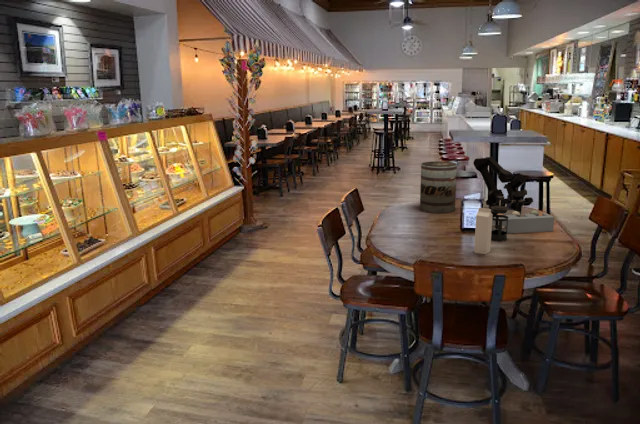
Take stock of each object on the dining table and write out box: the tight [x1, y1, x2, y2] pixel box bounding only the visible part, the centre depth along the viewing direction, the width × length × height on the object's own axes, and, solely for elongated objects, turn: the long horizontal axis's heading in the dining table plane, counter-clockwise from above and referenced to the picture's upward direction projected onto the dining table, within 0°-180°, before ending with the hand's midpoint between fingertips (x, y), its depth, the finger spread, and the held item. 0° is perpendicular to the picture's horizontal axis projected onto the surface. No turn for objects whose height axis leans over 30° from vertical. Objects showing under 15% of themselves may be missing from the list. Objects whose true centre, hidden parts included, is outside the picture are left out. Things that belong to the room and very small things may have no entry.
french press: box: [491, 195, 509, 242], centre depth 271 cm, size 12×9×23 cm
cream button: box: [511, 210, 521, 217], centre depth 292 cm, size 5×4×4 cm
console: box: [492, 212, 555, 235], centre depth 287 cm, size 9×32×8 cm, turn 96°
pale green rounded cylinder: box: [529, 209, 540, 216], centre depth 293 cm, size 5×4×4 cm
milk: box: [473, 207, 493, 255], centre depth 250 cm, size 6×6×22 cm
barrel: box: [419, 160, 458, 215], centre depth 335 cm, size 22×22×30 cm
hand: (520, 215), depth 297 cm, fingers closed
